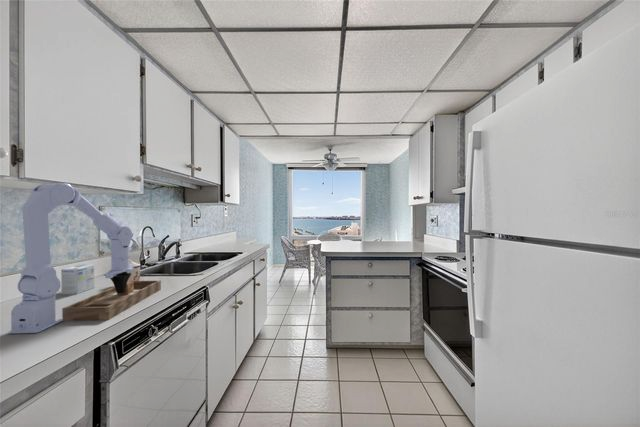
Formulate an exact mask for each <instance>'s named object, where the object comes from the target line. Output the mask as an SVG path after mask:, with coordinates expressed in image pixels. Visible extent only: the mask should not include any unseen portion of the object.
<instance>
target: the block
mask: <svg viewBox="0 0 640 427" xmlns="http://www.w3.org/2000/svg"><path fill="white" fill-rule="evenodd" d="M132 292H134V282H127V284H126V288H125V291H124V293H117V295H128V294H130V293H132Z"/></svg>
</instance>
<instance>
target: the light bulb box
mask: <svg viewBox="0 0 640 427" xmlns="http://www.w3.org/2000/svg"><path fill="white" fill-rule="evenodd" d="M60 274H61V280H60V284H61V285H60V286H61V295H78V294H81V293H83V292H86V291H88V290H91V289H94V288H95V264H92V263H91V264H78V265H74V266H70V267H66V268H62V269H61V273H60Z"/></svg>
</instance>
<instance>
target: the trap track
mask: <svg viewBox="0 0 640 427" xmlns="http://www.w3.org/2000/svg"><path fill="white" fill-rule="evenodd" d="M127 282H134V292H132V293H130V294H128V295H117V292H116V289H115V286H113V287H111V288H107V289H106V290H103V291H101V292H98V293H96V294H94V295H91V296H89V297H87V298H84V299H82V300H80V301H79V300H78V301H77V302H74V303H72V304H70V305H69V304H68V305H66V306H65V307H62V312H61V314H62V315H61V316H62V319H63V321H62V322H73V321H74V322H76V321H108V320H109V321H110V320H111V319H112V318H114V317H116V316H118V315H119V314H121V313H123V312H125V311H126V310H129V309H130V308H132V307H133V306H135V305H137V304H138V303H141V302H142V301H143V300H145V299H147V298H149V297H151V296H152V295H153V294H155V293H158V292H159V291H161V290H162V285H161V284H162V280H140V281H127Z"/></svg>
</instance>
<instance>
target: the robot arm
mask: <svg viewBox="0 0 640 427" xmlns="http://www.w3.org/2000/svg"><path fill="white" fill-rule="evenodd" d="M30 193H31V194H30V195H29V196H28V198H27V199H26V201H25V202H24V204H23V205H22V220H23V221H22V222H23V223H22V224H23V240H24V252H25V253H24V255H25V267H24V268H23V269H22V270H21V272H20V279H19V280H18V282H17V290H18V292H20V293H21V294H22V300H21V301H20V302H19V303H18V304H16V305H15V306H13V307H12V309H11V314H10V315H11V321H10V324H11V330H9V331H8V332H7V333H8V334H36V333H37V334H38V333H40V332H43V331H44V330H47V329H49V328H50V327H53V326H55V325H57V324H59V323H61V322H64V321H63V319H61V318H57V317H56V314H57V313H56V294H57V293H58V292H59V290H60V288H61V286H62V285H61V280H60V279H59V278H58V275H57V271H56V269H55V268H54V266H53V265H52V262H51V247H50V246H51V245H50V244H51V243H50V227H49V213H50V212H52V211H54V210H55V209H56V208H58V207H60V206H62V205H64V206H65V205H66V206H71V207H73V208H75V209H76V210H78V211H79V212H81V213H82V214H84V215H85V216H87V217H89V218H90V219H91V220H92V224H93V225H94V226H95V227H96V228H98V229H99V230H100V231H102V232H103V233H104V234H106V237H107V239H108V240H110V242H111V243H110V244H111V246H110V247H111V248H110V249H111V250H110V252H111V254H110V257H111V263H110V264H111V266H110V268H111V269H110V270H108V271H107V272H105V279H110V280H111V281H112V283H113V287H115V289H116V292H117V293H124V291H125V288H126V284H127V281H128V279H129V277H130V276H131V273H127V272H128V271H131V270H134V265H129V260H130V245H131V240H132V239H133V236H134V233H133V232H132V230H131V228H130V227H128V226H123V223H122V222H120V221H118V220H117V219H115V218H114V215H113V214H112V213H108V212H101V211H100V210H99V209H98V208H97V207H95V206H94V205H93V204H92V203H91V202H90V201H89V200H88V199H86V198H85V197H84V196H83V195H82V194H81V192H80V191H79V190H78V189H76V188H74V186H72V185H71V184H69V183H67V182H58V183H41V184H39V185H38V186H36V187H33V188H32V189H31V192H30Z"/></svg>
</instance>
